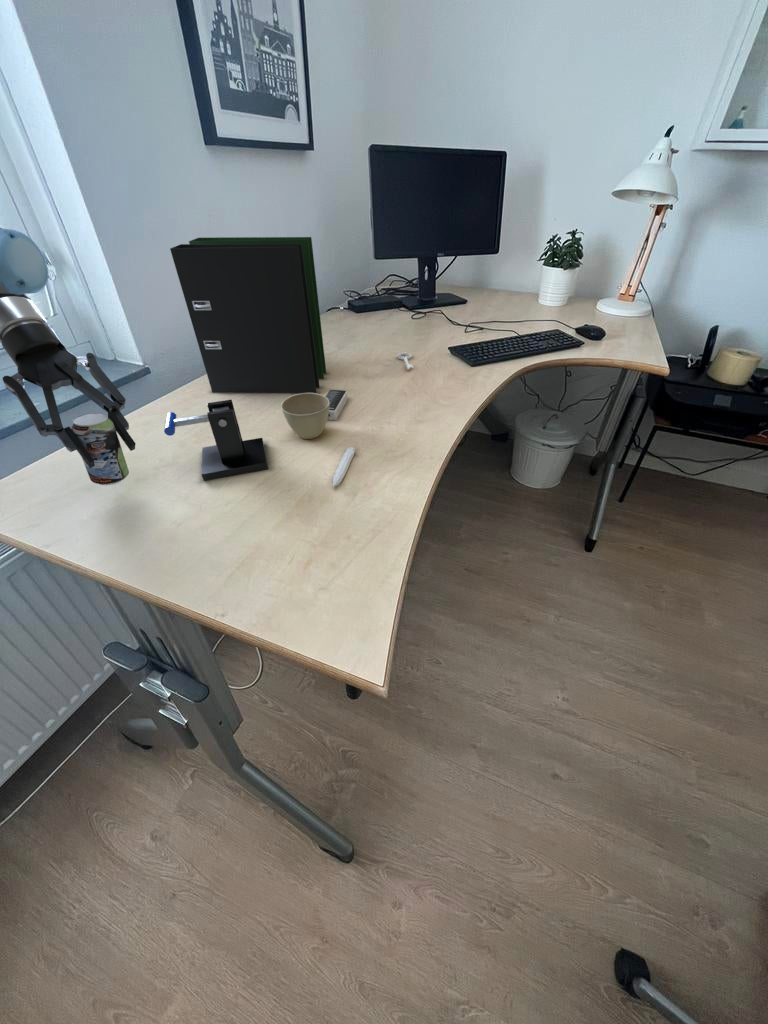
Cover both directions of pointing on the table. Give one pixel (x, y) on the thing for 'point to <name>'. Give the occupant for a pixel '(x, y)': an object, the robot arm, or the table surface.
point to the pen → (343, 466)
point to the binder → (254, 312)
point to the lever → (185, 420)
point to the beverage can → (101, 448)
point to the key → (405, 359)
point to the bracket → (230, 446)
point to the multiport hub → (336, 403)
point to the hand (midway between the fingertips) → (113, 455)
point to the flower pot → (306, 413)
